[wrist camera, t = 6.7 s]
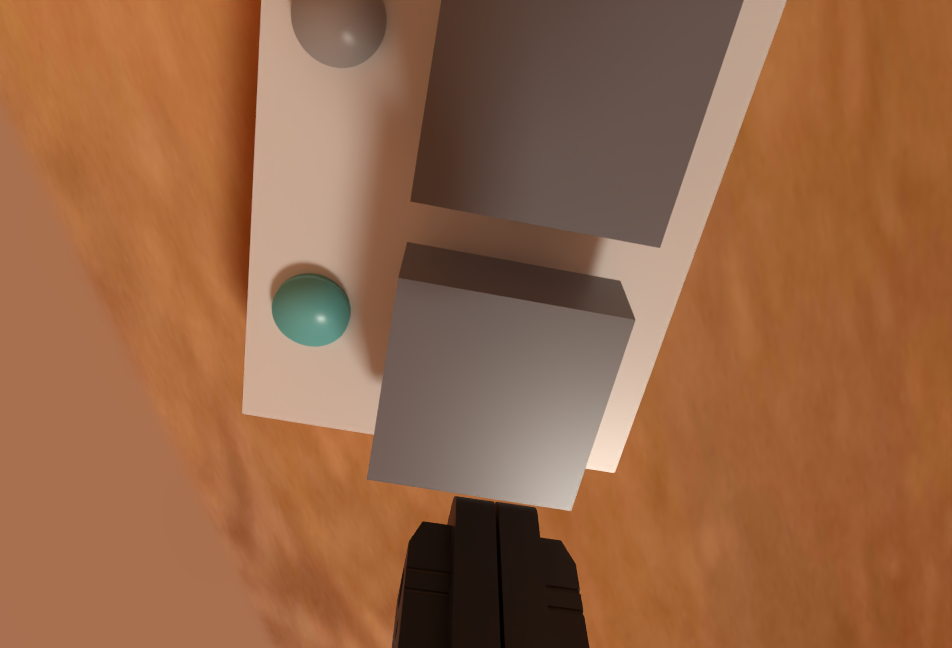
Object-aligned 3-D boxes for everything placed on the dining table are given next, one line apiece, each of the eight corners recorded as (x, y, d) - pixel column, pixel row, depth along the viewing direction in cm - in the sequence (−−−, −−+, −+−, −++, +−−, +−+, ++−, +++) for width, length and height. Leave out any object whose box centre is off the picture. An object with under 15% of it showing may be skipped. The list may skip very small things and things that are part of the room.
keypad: (336, -672, 13) (294, -845, 10) (910, -510, 14) (1022, -626, 11) (269, 359, 23) (239, 420, 20) (600, 413, 24) (616, 479, 21)
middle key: (463, -115, 14) (459, -121, 12) (727, -55, 14) (761, -54, 12) (418, 172, 16) (410, 201, 15) (641, 214, 17) (659, 248, 15)
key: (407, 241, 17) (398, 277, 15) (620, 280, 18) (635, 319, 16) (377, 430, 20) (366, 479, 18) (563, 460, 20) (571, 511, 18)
